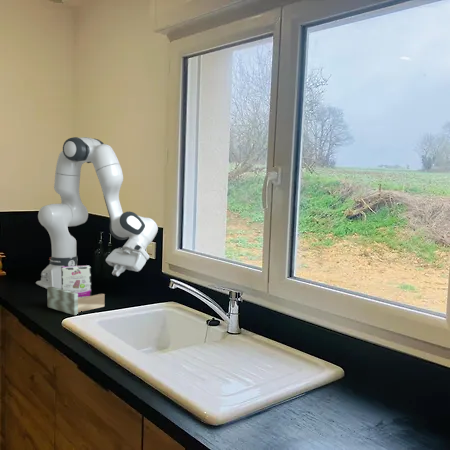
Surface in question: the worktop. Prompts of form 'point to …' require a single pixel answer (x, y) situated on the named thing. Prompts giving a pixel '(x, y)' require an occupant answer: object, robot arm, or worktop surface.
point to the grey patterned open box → (72, 301)
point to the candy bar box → (77, 280)
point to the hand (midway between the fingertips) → (114, 274)
